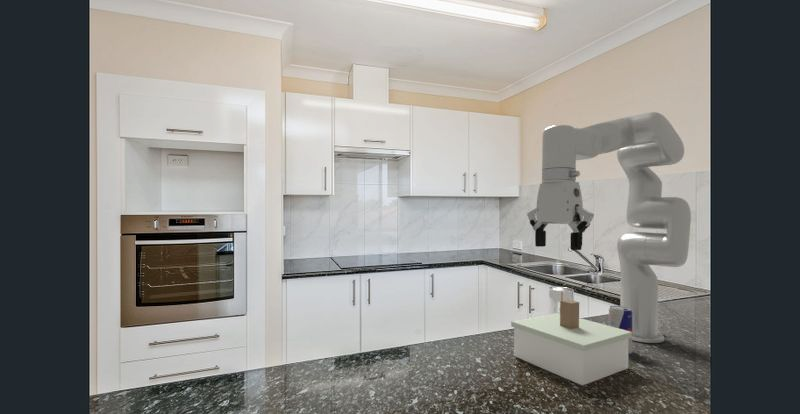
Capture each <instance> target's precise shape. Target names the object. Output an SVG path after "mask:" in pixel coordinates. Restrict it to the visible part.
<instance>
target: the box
mask: <svg viewBox="0 0 800 414" xmlns="http://www.w3.org/2000/svg"><path fill="white" fill-rule="evenodd" d="M513 357H516V358H518V359H520V360H523V361H524V362H527V363H530V364H531V365H534V366H537V367H539V368H541V369H543V370H546V371H548V372H550V373H553V374H554V375H557V376H558V377H562V378H564V379H566V380H569V381H572V382H573V383H576V384H578V385H579V386H585V385H587V384H591V383H592V382H596V381H599V380H601V379H603V378H606V377H608V376H611V375H614V374H616V373H619V372H622V371H624V370H628V369H629V355H628V338H627V339H624V340H621V341H617V342H614V343H610V344H607V345H604V346H600V347H597V348H593V349H590V350H587V351H581V350H578V349H575V348H572V347H570V346H567V345H564V344H561V343H558V342H555V341H552V340H549V339H546V338H544V337H541V336H538V335H535V334H532V333H529V332H526V331H523V330H520V329H518V328H515V327H513Z"/></svg>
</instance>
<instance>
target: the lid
mask: <svg viewBox="0 0 800 414" xmlns="http://www.w3.org/2000/svg"><path fill="white" fill-rule="evenodd" d="M510 323H511V324H510V325H511V327H512V328H514V327H515V328H518V329H520V330H523V331H526V332H529V333H532V334H535V335H538V336H541V337H544V338H546V339H549V340H552V341H555V342H558V343H561V344H564V345H567V346H570V347H572V348H575V349H578V350H581V351H587V350H590V349H593V348H597V347H600V346H604V345H607V344H610V343H614V342H617V341H621V340H624V339H627V338H631V337H632V332H630V331H626V330H623V329H619V328H615V327H611V326H609V324H608V325H607V324H604V323H600V322H596V321H592V320H588V319H585V318H582V317H581V318H580V302H579V301H575V300H574V301H572V300H563V301H560V313H554V314H549V313H548V314H542V315H539V316H533V317H528V318H523V319H518V320H512V321H510Z"/></svg>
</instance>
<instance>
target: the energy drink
mask: <svg viewBox="0 0 800 414" xmlns="http://www.w3.org/2000/svg"><path fill="white" fill-rule="evenodd" d="M608 326H611V327H615V328H619V329H623V330H626V331H630V332H632V311H631V309H630V308H627V307H623V306H620V305H609V308H608ZM630 355H633V340H632V337H631V338H628V356H630Z"/></svg>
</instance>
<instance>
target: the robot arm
mask: <svg viewBox="0 0 800 414" xmlns="http://www.w3.org/2000/svg"><path fill="white" fill-rule="evenodd" d="M541 149H542V150H541V183H539V187H538V192H537V197H536V207H535V208H534V209H532V210H531V211H529V212H528V213H527V214H526V215H527V218H528V220H529V224H530V225H531V227H532V230H533V231H535V233H534V235H535V237H534V238H535V239H534V242H535V245H534V246H535V247H537V248H539V247H546V246H547V245H546V244H547V243H546V242H547V235H546V234H547V231H546V230H545V228H547V226H548V225H549V224H556V225H559V224H560V225H568V227H569V228H570V229H571V230H572V231H573V232H571V233H570V245H569V246H570V247H569V248H570V250H571V251H581V250H582V247H583V234H584V233H585V231H586V230H587V228H589V227H590V225H591V223H592V221H593V218H594V216H595V215H594V213H593V212H592V211H590V210H587V209H585V208H584V206H583V197H582V196H583V195H582V190H581V186H580V182H578V181H576V180H577V177H580V176H581V172H580V170H577V168H576V167H577V165H576V164H577V161H581V160H582V161H583V160H584V161H585V160H589V159H590V160H591V159H593V158H595V157H597V156H599V155H602V154H608V153H611V152H616V157H617V161H618V163H619V164H620V166H621V168H622V170H623V172H624V173H625V175H626V177H627V180H628V185H629V187H628V197H627V206H626V221H627V224H628V225H629V226H630V227H633V228H637V229H648V230H665V231H666V233H664V232H661V233H659V232H646V231H645V232H644V231H631V232H626V233H623V234H622V235H620V237H618V240H617V243H616V249H617V250H616V251H617V253H618V254H617V255H618V260H619V267H620V294H619V295H620V298H619V299H620V302H619V303H620V305H619V306H623V307H627V308H630V309H631V311H632V342H633V341H635V342H639V343H645V344H660V343H663V342H664V341H665V336H664V335H663V334H661V333H660V332H658V331H659V330H658V329H659V328H661V327H662V322H660V321H659V320H658V319H659V317H658V316H659V310H658V309H659V280H658V278H657V275H656V273H655V272H654V270H653V268H652V267H651V266H658V267H667V268H680V267H682V266H684V265H685V264H686V262H687V259H688V257H689V247H690V246H689V245H690V236H691V235H690V234H691V221H692V211H691V207H690V205H689V203H688V202H687V201H686V200H685V199H683V198H682V197H676V196H662V191H663V189H662V188H663V181H662V180H661V178H660V177H659V175H658V174H656V173H655V172H654V170H652V169H651V167H661V166H662V167H663V166H672V165H675V164H678V163H680V162H681V160H683V157H684V155H685V147H684V142H683V140H682V139H681V137H680V136H679V134H678V133H677V131H676V129H675V128H674V127H673V125H672V123H671V122H670V120H668V119H667V118H666V116H664V115H663V114H661V113H660V112H657V111H651V112H646V113H641V114H637V115H630V116H626V117H625V116H624V117H621V118H617V119H611V120H607V121H603V122H599V123H595V124H592V125H588V126H584V127H582V128H577V127H574V126H572V125H567V124H558V125H557V124H555V125H551V126H547V127H546V128H545V129H544V130H543V132H542V148H541Z"/></svg>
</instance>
